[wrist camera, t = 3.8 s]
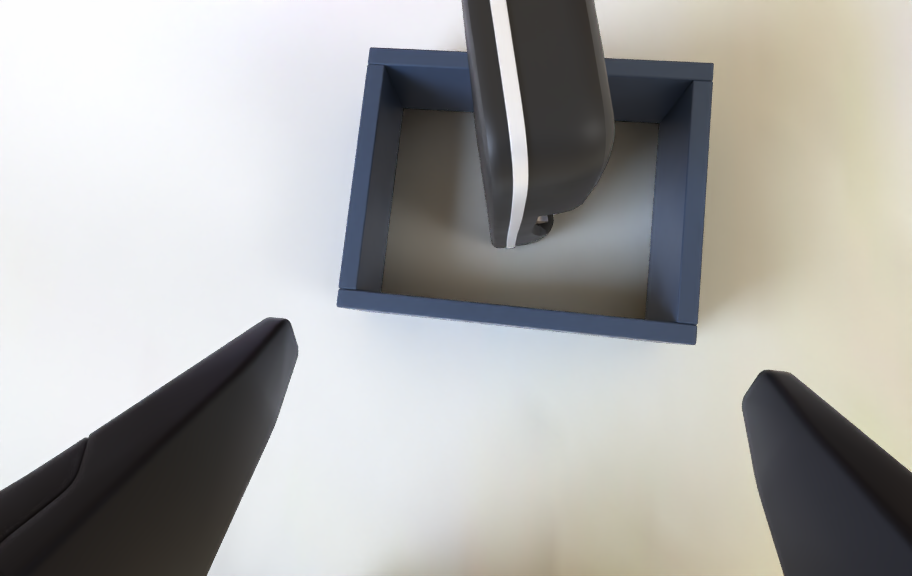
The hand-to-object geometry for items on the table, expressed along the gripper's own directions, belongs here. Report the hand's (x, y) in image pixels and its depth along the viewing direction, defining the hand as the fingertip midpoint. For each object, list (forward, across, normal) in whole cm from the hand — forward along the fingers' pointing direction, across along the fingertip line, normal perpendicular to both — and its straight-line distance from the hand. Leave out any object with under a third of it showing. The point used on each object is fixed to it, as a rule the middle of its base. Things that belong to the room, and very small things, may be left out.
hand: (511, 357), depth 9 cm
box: (+14, 0, +5) cm, 15 cm away
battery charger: (+15, 0, +4) cm, 16 cm away
